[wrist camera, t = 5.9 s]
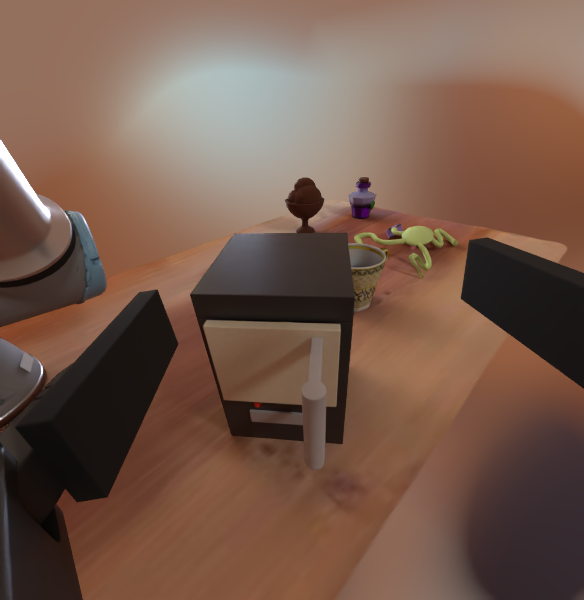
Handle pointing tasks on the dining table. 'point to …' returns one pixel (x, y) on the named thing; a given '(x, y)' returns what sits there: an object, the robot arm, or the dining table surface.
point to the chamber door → (280, 370)
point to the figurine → (412, 241)
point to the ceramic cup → (366, 271)
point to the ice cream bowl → (304, 202)
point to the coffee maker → (281, 312)
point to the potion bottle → (362, 199)
